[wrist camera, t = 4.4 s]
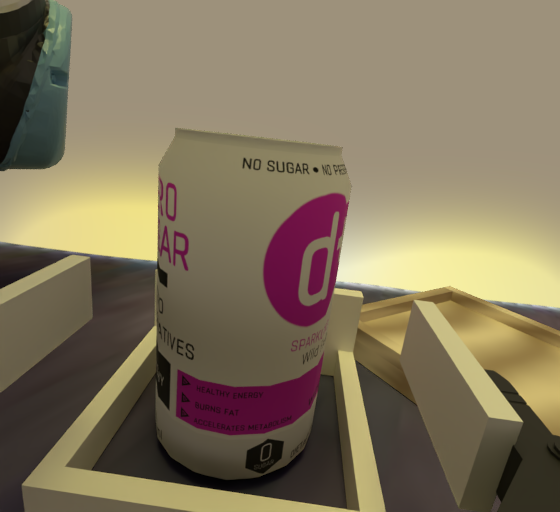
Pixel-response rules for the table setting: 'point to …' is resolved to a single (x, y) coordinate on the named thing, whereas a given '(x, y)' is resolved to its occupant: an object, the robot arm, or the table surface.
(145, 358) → the dock
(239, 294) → the supplement can
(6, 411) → the table surface
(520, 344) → the tray
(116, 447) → the table surface
